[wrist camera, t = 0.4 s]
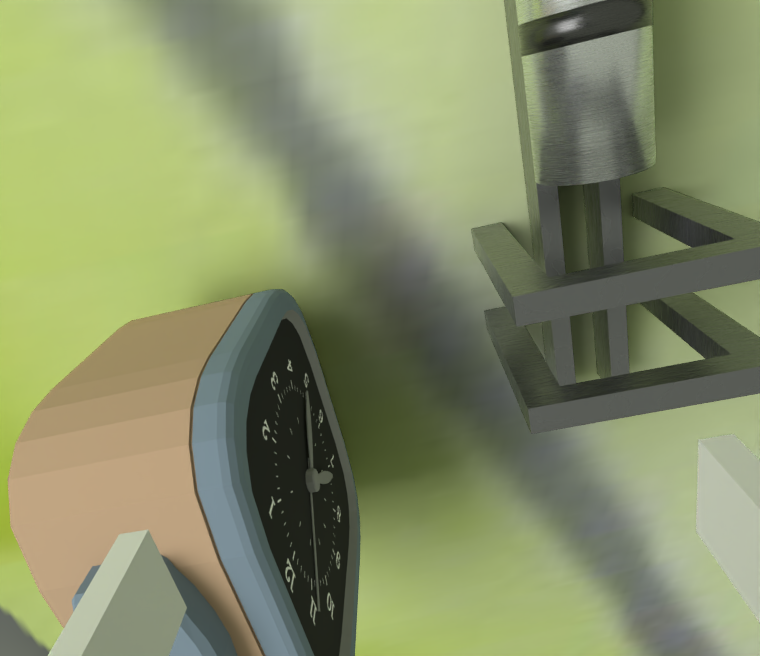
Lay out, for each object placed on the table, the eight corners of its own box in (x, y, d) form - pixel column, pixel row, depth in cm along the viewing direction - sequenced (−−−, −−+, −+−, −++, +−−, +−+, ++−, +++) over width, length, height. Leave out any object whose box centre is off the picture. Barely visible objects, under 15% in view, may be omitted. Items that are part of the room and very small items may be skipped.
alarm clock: (365, 493, 46) (350, 804, 26) (256, 513, 47) (160, 828, 27) (294, 258, 38) (193, 448, 18) (163, 287, 39) (-70, 499, 19)
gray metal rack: (387, -299, 27) (388, -613, 15) (653, -382, 25) (890, -797, 13) (497, 391, 42) (542, 513, 30) (667, 360, 40) (784, 474, 29)
